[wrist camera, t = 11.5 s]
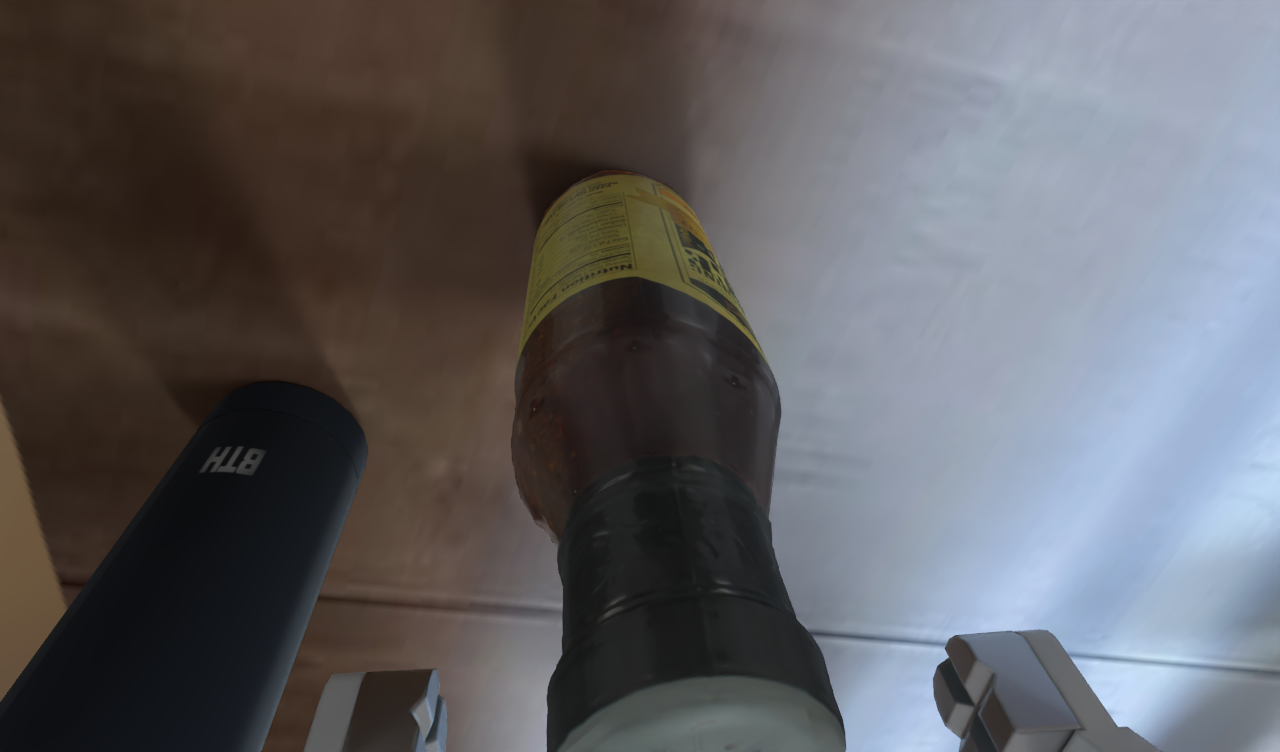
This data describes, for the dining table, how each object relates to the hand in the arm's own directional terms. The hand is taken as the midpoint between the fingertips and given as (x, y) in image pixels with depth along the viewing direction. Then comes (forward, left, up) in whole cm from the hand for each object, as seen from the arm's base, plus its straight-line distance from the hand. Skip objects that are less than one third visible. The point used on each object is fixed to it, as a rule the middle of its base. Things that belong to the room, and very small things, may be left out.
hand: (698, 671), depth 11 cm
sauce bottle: (0, 0, -18) cm, 18 cm away
